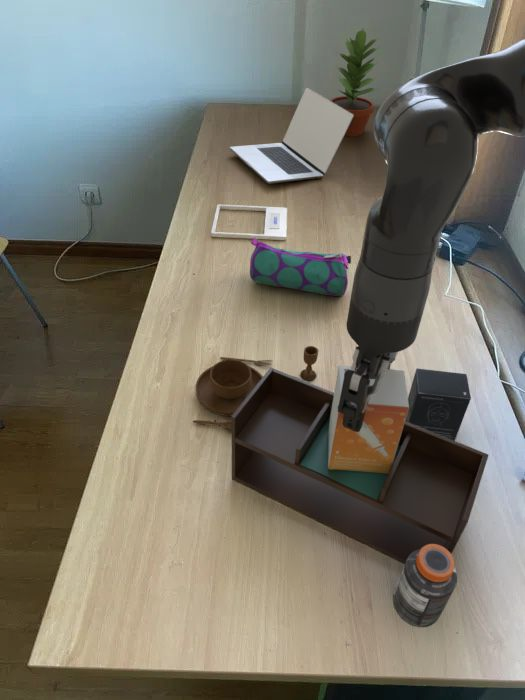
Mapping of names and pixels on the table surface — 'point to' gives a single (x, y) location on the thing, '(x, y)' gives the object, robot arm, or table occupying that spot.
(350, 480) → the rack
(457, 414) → the box
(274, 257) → the pencil case
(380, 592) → the table surface
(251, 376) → the place setting
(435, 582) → the pill bottle
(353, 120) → the potted plant
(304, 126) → the laptop
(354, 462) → the small box
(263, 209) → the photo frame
